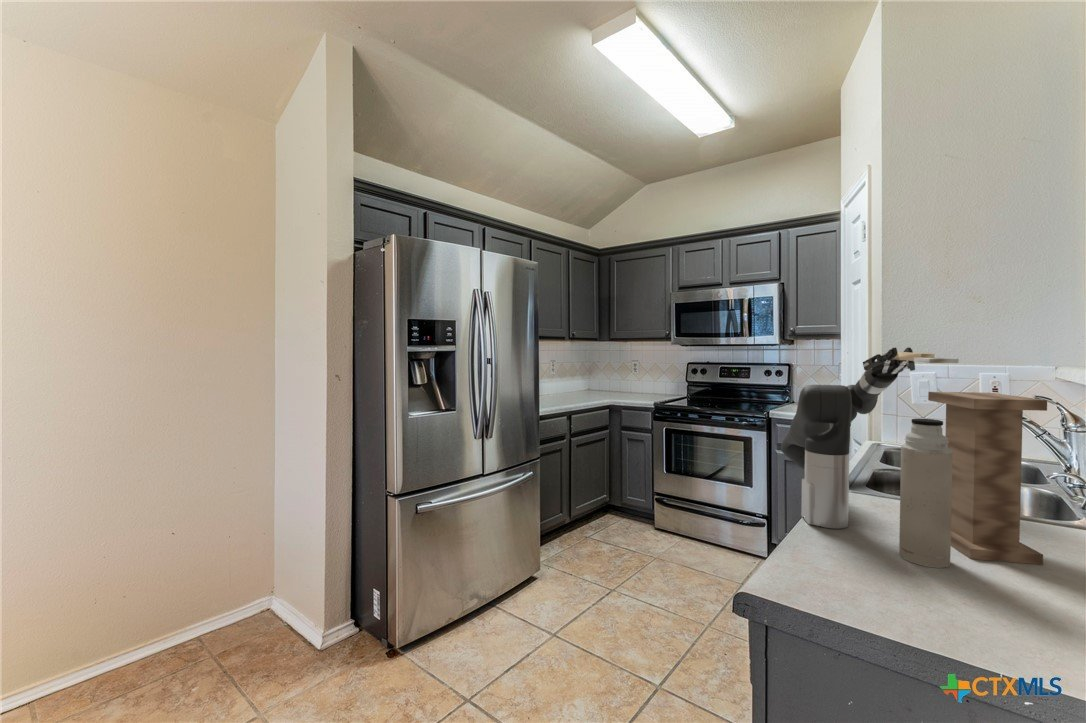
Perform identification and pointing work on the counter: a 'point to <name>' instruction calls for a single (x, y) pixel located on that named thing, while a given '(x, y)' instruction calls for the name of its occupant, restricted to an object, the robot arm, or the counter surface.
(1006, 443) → the stand
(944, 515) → the thermos bottle
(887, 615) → the counter surface
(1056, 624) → the counter surface
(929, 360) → the paddle
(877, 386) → the robot arm
